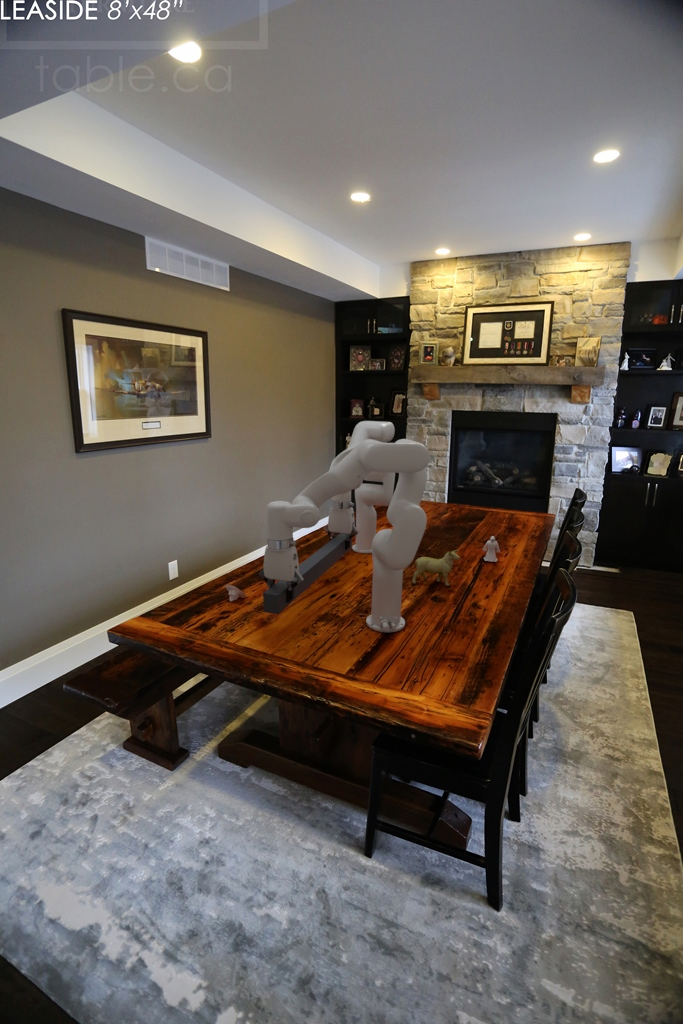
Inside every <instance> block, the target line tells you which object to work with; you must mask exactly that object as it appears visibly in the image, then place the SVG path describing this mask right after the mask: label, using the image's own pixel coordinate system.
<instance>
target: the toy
mask: <svg viewBox="0 0 683 1024" xmlns="http://www.w3.org/2000/svg"><path fill="white" fill-rule="evenodd" d="M457 552H459V549H455V550H452V551H447V552H446V553H445V554H444V556H443V557H442V558H433V557H428V556H421V557H418V558H417V559H416V560H415V567H416V571H414V572H413V577H412V582H411V583H412V584H413V585H417V581H416V580H417V578H418V576H419V575H420V576H421V577H422V578H423V580H424V581H427V580H428V577H427V575H426V574H425V573H428V574H431V575H437V577H436V580H435V581H436V582H437V583H441V580H440V579H441V577H442V578H443V580H444V584H445V587H448V588H449V587H451V585H450V583H449V582H448V575H449V574H450V572H451V571H452V568H453V566H454V561H460V560H461V556H459V555H458V554H457Z"/></svg>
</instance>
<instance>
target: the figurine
mask: <svg viewBox="0 0 683 1024" xmlns="http://www.w3.org/2000/svg"><path fill="white" fill-rule="evenodd" d="M482 551H483V552H486V554H485V556H484V557H483V560H484V561H485V562H495V563H498V558H497V554H496V553H498V554H499V553H501V550H500V547H499V543H498V541H497V540H496V538H495V536H493V535H492V536H490V539H489V540H487V542H486V543H485V544H484V546H483V548H482Z"/></svg>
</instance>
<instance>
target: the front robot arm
mask: <svg viewBox="0 0 683 1024" xmlns="http://www.w3.org/2000/svg"><path fill="white" fill-rule="evenodd" d="M430 461H431V454H430V451H429V449H428V447H426V445H424V444H423V443H422V442H418V441H415V440H412V439H410V438H401V439H397V440H396V441H395V442H386V443H383V442H379V441H376V440H372V439H367V440H364V441H362V442H361V443H360V444H358V445H357V446H356V447H355V448H354V449H353V450H352V451H351V452H350V453H349V454H348V455H347V456H345V457H344V458H343V459H342V460H341V461H340V462H339V463H338V464H337V465H336V466H335V467H333V468H332V469H331V470H330V471H329V470H328V471H326V472H325V473H324V474H322V475H321V476H320V477H318V478H317V479H315V480H314V481H312V482H311V483H309V485H307V486H306V487H305V488H304V489H303V490H301V492H300V493H299V494H297V495H296V497H294V499H293V500H292V502H289V501H286V500H274V501H271V502H269V503H268V504H267V505H266V538H267V539H266V541H267V545H266V546H265V550H264V555H263V568H262V569H261V570H260V572H259V573H258V576H259V577H260V578H261V579H262V580H263V581H264V582H265V584H266V587H267V588H268V589H269V588H270V587H272V586H273V585H274V584H275V583H276V581H279V580H282V581H286V584H287V587H288V590H287V591H286V598H287V603H289V602H290V601H292V600H293V598H294V588H295V587H296V586H297V585H298V584H300V583H301V582H302V581H304V578H303V577H302V576H301V574H300V573H299V565H300V564H299V556H298V551H297V545H298V541H297V540H294V528H301V529H310V528H313V527H315V526H316V525H318V523H319V521H320V518H321V513H320V510H319V508H320V507H321V506H322V505H323V504H324V503H326V502H327V501H329V500H330V499H332V497H333V496H336V495H339V494H343V493H347V492H349V491H351V492H352V489H353V488H354V487H355V486H356V485H357V484H358V483H359V482H360V481H362V480H363V479H364V478H365V477H366V476H367V475H368V474H369V473H370V472H371V471H373V472H381V473H395V474H396V473H397V474H398V480H397V483H396V487H395V488H394V489H395V490H394V491H393V497H392V500H391V502H390V505H389V506H387V510H386V520H387V522H389V524H390V525H391V526H392V529H391V528H383V529H381V530H379V531H377V532H376V535H375V536H374V538H373V541H372V553H371V555H372V557H371V558H372V585H371V586H372V587H371V607H370V609H371V613H370V615H368V616H367V617H366V621H365V622H366V623H365V624H366V625H367V627H368V628H369V629H372V630H373V631H376V632H379V633H396V632H398V631H402V630H403V629H404V628H405V626H406V620H405V618H403V617H402V615H401V614H402V599H403V598H402V597H403V580H404V569H406V568H407V567H409V566H410V565H411V564H412V562H413V560H414V559H415V557H416V554H417V551H418V549H419V546H420V545H421V542H422V539H423V537H424V535H425V531H426V529H427V522H428V521H427V520H428V517H427V513H426V512H425V510H424V509H423V508H422V506H420V505H421V502H422V499H423V496H424V494H425V493H424V492H425V490H426V486H427V482H428V481H427V480H428V476H427V475H428V474H427V473H428V472H427V466H428V465H429V463H430ZM363 481H364V480H363ZM353 490H354V489H353ZM294 577H296V578H297V581H295V582H294Z"/></svg>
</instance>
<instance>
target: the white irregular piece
mask: <svg viewBox="0 0 683 1024" xmlns="http://www.w3.org/2000/svg"><path fill="white" fill-rule="evenodd" d="M224 587H225V589H226V591H227V592H228V596H229V597H228V601H229V602H234V601H236V600H237V599H239V598H244V599H245V598H247V595H246V593H245V592H244V591H243V590H241V589H240V588H239V587H237V586H235V585H231V584H226V585H224Z"/></svg>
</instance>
